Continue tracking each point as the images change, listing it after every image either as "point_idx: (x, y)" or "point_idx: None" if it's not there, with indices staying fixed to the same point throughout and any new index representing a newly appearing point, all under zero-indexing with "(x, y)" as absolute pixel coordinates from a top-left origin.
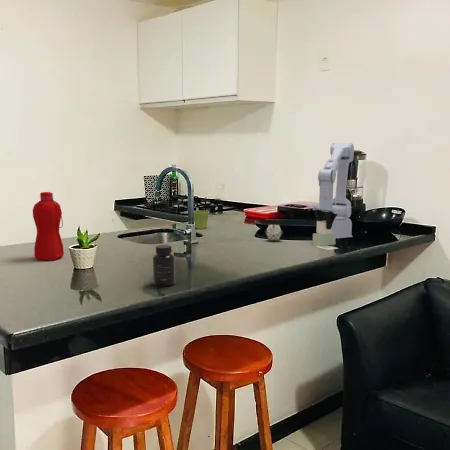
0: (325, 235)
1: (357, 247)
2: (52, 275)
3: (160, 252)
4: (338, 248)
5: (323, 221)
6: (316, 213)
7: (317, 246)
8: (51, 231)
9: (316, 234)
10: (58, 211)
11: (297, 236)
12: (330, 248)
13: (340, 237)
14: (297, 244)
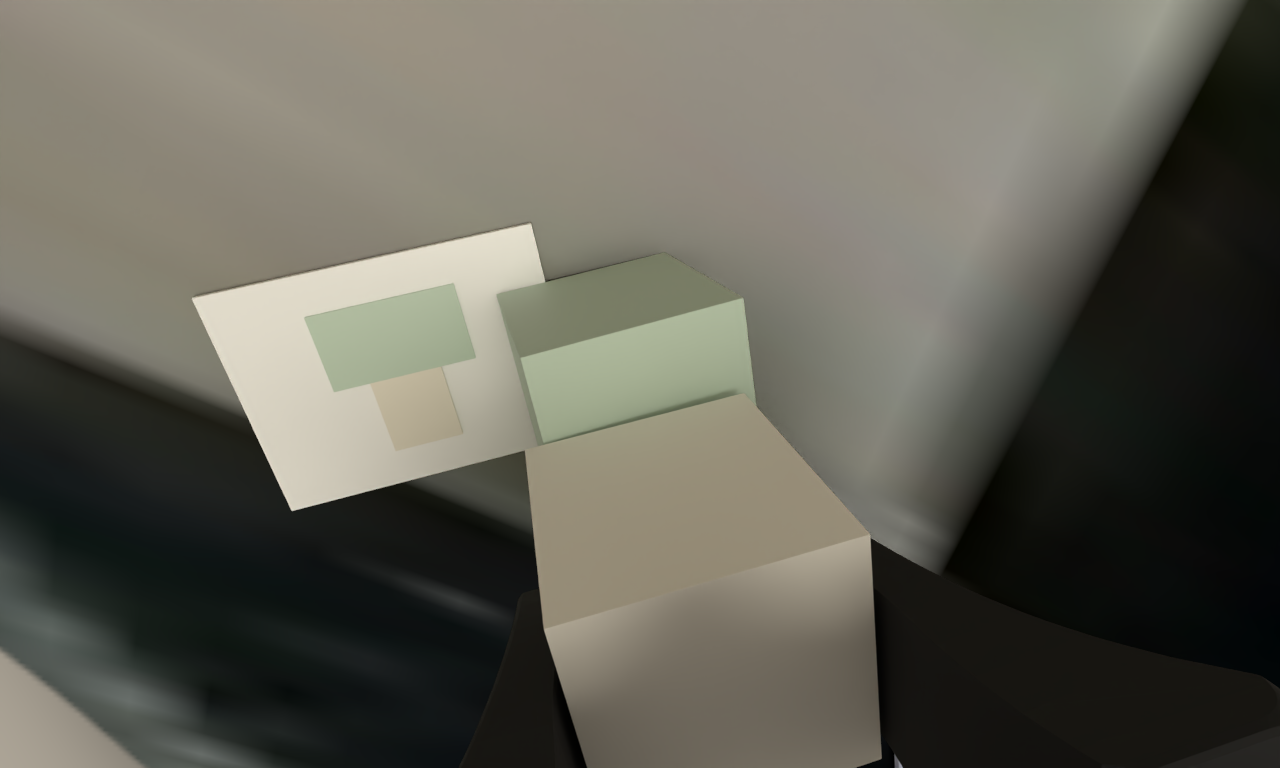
0: None
1: (344, 753)
2: None
3: None
4: (290, 504)
5: (758, 687)
6: (1114, 735)
7: (503, 252)
8: None
9: (624, 327)
10: None
11: (1259, 344)
12: (288, 381)
13: (897, 761)
14: (812, 13)
